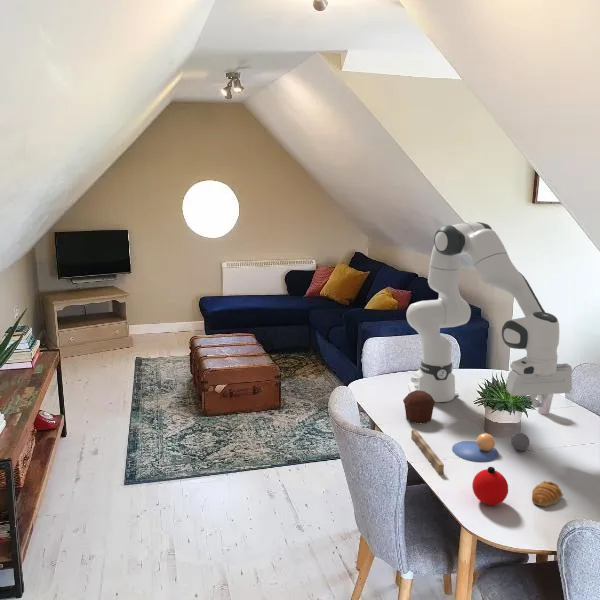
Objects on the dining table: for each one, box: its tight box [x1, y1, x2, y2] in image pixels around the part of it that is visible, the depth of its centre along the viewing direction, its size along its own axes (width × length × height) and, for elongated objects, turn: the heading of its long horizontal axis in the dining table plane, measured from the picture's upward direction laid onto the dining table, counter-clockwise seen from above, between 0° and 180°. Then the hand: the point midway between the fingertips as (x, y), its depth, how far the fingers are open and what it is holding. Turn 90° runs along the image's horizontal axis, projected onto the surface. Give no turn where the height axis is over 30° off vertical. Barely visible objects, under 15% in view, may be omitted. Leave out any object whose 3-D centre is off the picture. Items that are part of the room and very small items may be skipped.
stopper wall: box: [410, 429, 445, 475], centre depth 175 cm, size 24×2×3 cm, turn 8°
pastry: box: [531, 480, 564, 508], centre depth 150 cm, size 9×7×4 cm
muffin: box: [402, 390, 436, 425], centre depth 202 cm, size 12×11×10 cm
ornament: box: [471, 466, 509, 506], centre depth 148 cm, size 9×9×10 cm
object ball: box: [476, 432, 496, 451], centre depth 178 cm, size 6×6×6 cm
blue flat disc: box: [451, 440, 499, 463], centre depth 178 cm, size 14×14×1 cm
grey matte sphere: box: [510, 432, 531, 452], centre depth 178 cm, size 6×6×6 cm
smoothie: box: [536, 394, 554, 416], centre depth 205 cm, size 6×6×14 cm
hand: (537, 406), depth 177 cm, fingers closed
